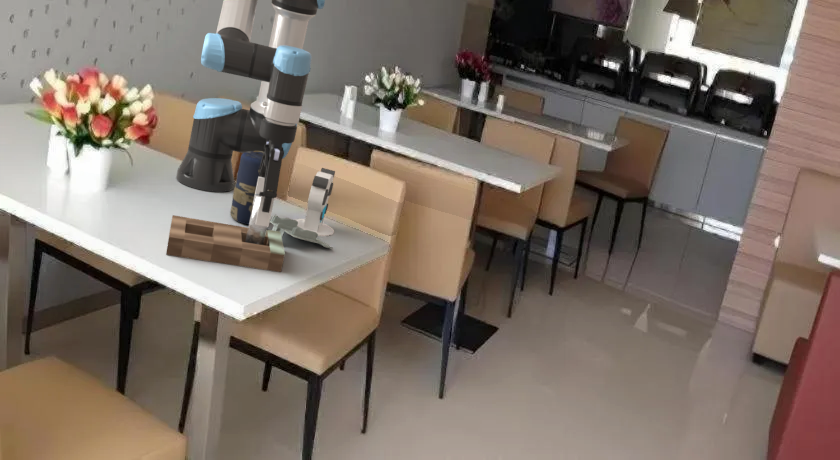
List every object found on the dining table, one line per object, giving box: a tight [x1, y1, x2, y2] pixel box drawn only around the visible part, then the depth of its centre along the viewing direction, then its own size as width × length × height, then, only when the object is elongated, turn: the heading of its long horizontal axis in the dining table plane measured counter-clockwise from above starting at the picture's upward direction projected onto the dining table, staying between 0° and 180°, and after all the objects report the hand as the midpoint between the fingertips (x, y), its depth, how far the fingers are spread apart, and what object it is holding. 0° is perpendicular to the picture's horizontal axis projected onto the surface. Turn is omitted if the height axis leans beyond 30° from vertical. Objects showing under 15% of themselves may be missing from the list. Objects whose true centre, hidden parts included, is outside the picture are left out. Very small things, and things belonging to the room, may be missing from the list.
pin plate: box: [165, 214, 286, 273], centre depth 180 cm, size 14×24×4 cm, turn 104°
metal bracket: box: [269, 214, 333, 250], centre depth 199 cm, size 14×6×15 cm
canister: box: [229, 151, 273, 225], centre depth 202 cm, size 10×10×18 cm
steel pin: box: [245, 193, 268, 245], centre depth 180 cm, size 4×4×14 cm
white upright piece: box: [293, 167, 336, 237], centre depth 209 cm, size 12×11×15 cm
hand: (260, 215), depth 180 cm, fingers open, 13 cm apart
